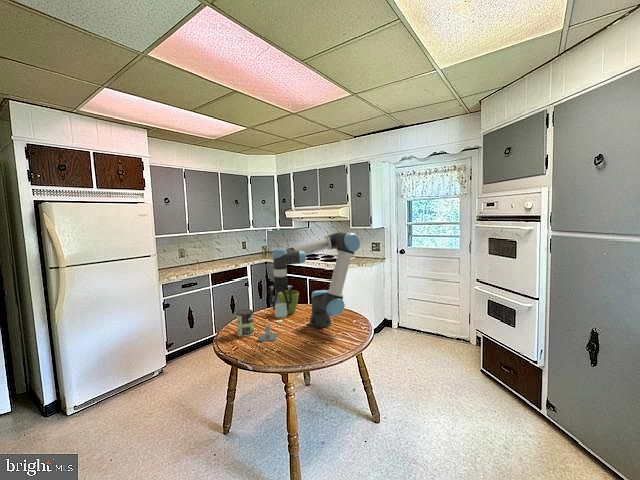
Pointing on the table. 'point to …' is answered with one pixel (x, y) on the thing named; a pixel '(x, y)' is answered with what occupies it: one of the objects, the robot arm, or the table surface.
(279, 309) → the mint green block
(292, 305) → the flower pot
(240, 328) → the coffee can
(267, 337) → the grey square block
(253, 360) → the table surface
